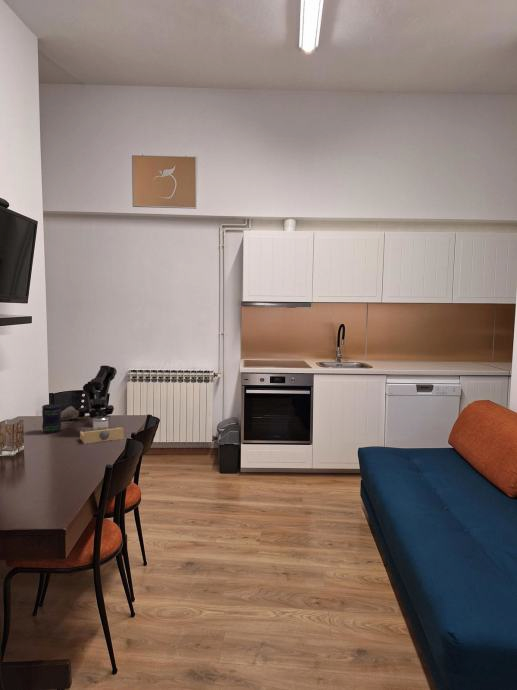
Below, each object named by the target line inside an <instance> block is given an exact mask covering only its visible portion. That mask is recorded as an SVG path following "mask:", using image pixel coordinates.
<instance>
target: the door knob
mask: <svg viewBox="0 0 517 690" xmlns="http://www.w3.org/2000/svg"><path fill="white" fill-rule="evenodd" d="M109 419H110V417H109V416H108V415H106V416H96V417H93V418H91V420H92V431H97V430H106V429H109Z"/></svg>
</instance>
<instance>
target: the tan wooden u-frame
mask: <svg viewBox="0 0 517 690" xmlns="http://www.w3.org/2000/svg"><path fill="white" fill-rule="evenodd" d="M124 431H125V429H124V427H115V428H108V429H106V430H97V431H93V430H90V431H79V440H80V441H81V440H82V441H81V442H82V443H83V444H84V445H87V443H88V444H94V443H101V442H102V443H103V441H104V442H110V441H109V440H112V441H117V440H118V439H119V440H124V437H125V436H124Z"/></svg>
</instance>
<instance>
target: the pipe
mask: <svg viewBox="0 0 517 690" xmlns="http://www.w3.org/2000/svg"><path fill="white" fill-rule="evenodd" d="M77 418H79V417H78V410H77V409H76V408H75V407H74V406H72V405H70V406H68V407H66V408H65V409H63V410H61V422H63V421H64V420H65V421H71V420H70V419H73V420H75V419H77Z"/></svg>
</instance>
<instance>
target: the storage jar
mask: <svg viewBox="0 0 517 690" xmlns="http://www.w3.org/2000/svg"><path fill="white" fill-rule="evenodd" d="M61 406H62V404H59V403H49V404H48V403H47V404H44V405H42V406H41V415H42V416H41V417H42V426H41V427H42V434H45V435H54V434H53V433H56V434H59V433H58V432H60V433H61V432H62V421H61V412H62V407H61Z"/></svg>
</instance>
